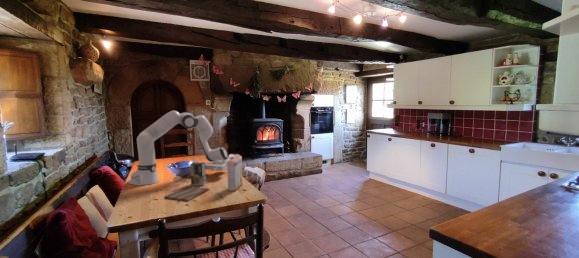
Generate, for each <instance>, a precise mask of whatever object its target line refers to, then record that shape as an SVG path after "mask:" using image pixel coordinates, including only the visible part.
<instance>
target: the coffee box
mask: <svg viewBox="0 0 579 258" xmlns="http://www.w3.org/2000/svg"><path fill="white" fill-rule="evenodd" d="M205 163H206V162H197V161H196V162H192V163H190V168H189V169H190V184H191V185H190V186H191V187H198V186H199V187H200V186H201V187H202V186H204V185H206V184H207V177H206V175H207V173H206V169H205Z"/></svg>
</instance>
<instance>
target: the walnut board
mask: <svg viewBox="0 0 579 258" xmlns="http://www.w3.org/2000/svg"><path fill="white" fill-rule="evenodd" d="M209 191H210V188H207V187H206V188H205V187H200V186H199V187H198V186H191V185H187V186H184V187H182V188H180V189H178V190H176V191H173V192H172V193H169V194H167V195H164V199H165V200H166V199H168V200H174V201H183V202H190V201H191V200H192V201H193V200H195V199H196V198H198V197H199V196H201V195H203V194H205V193H206V192H209Z"/></svg>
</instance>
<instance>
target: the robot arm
mask: <svg viewBox="0 0 579 258" xmlns="http://www.w3.org/2000/svg"><path fill="white" fill-rule="evenodd" d="M178 124H179V125H182V126H183V127H184V128H185V129H191V128H196V130H197V131H198V133H199V143H200V145H201V147H202V150H203V151H204V152H203V153H204V155H205V159H206V160H207V161H209V162H204V163H205V170H210V171H213V172H215V171H216V172H217V171H221V172H223V171H227V162H228V161H229V160H231V158H230V157H229V156H228V155H229V154H228V151H227V149H226V148H225V147H223V146H221V147H217V148H213V149H211V147H210V145H209V142H208V139H210V138H211V137H212V136H213V134H214V128H213V125H212V124H211V123H210V121H209V120H208V119H207V118H206V117H205V115H203V114H201V115H197V116H194V115H193V114H192V113H191V112H188V111H183V112H179V111H177V110H171V111H169V112H167V113H165V114H164V115H162V116H161V117H160V118H158V119H157V120H156V121H155V122H153V123H152V124H151V125H149V126H148V127H146V128H145V129H144V130H143V131H141V132H140V133H139V134H138V136H137V137H136V144H137V145H136V146H137V153H138V164H137V165H136V168H137V169H136V170H135V171H134V172H132V173H131V175H130V179H129V180H127V181H126V183H127V184H131V185H134V186H138V187H139V186H146V185H152V184H153V185H154V184H156V183H159V181H160V180H159V177H158V172H157V171H158V170H157V163H156V150H155V141H156V140H159V138H160V137H162V136H164V135H165V134H166V133H167V132H169V131H170V130H171V129H173V128H174V127H175V126H176V125H178Z"/></svg>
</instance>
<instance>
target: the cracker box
mask: <svg viewBox="0 0 579 258" xmlns="http://www.w3.org/2000/svg"><path fill="white" fill-rule="evenodd" d="M242 170H243V164H242V157H238V156H237V157H233V158H232V159H231V158H230V160H229V161H228V162H227V170H226V171H227V189H228V190H227V191H228V192H231V191H232V192H237V190H238V189H239V188H240V187H242V185H243V171H242Z"/></svg>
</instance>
